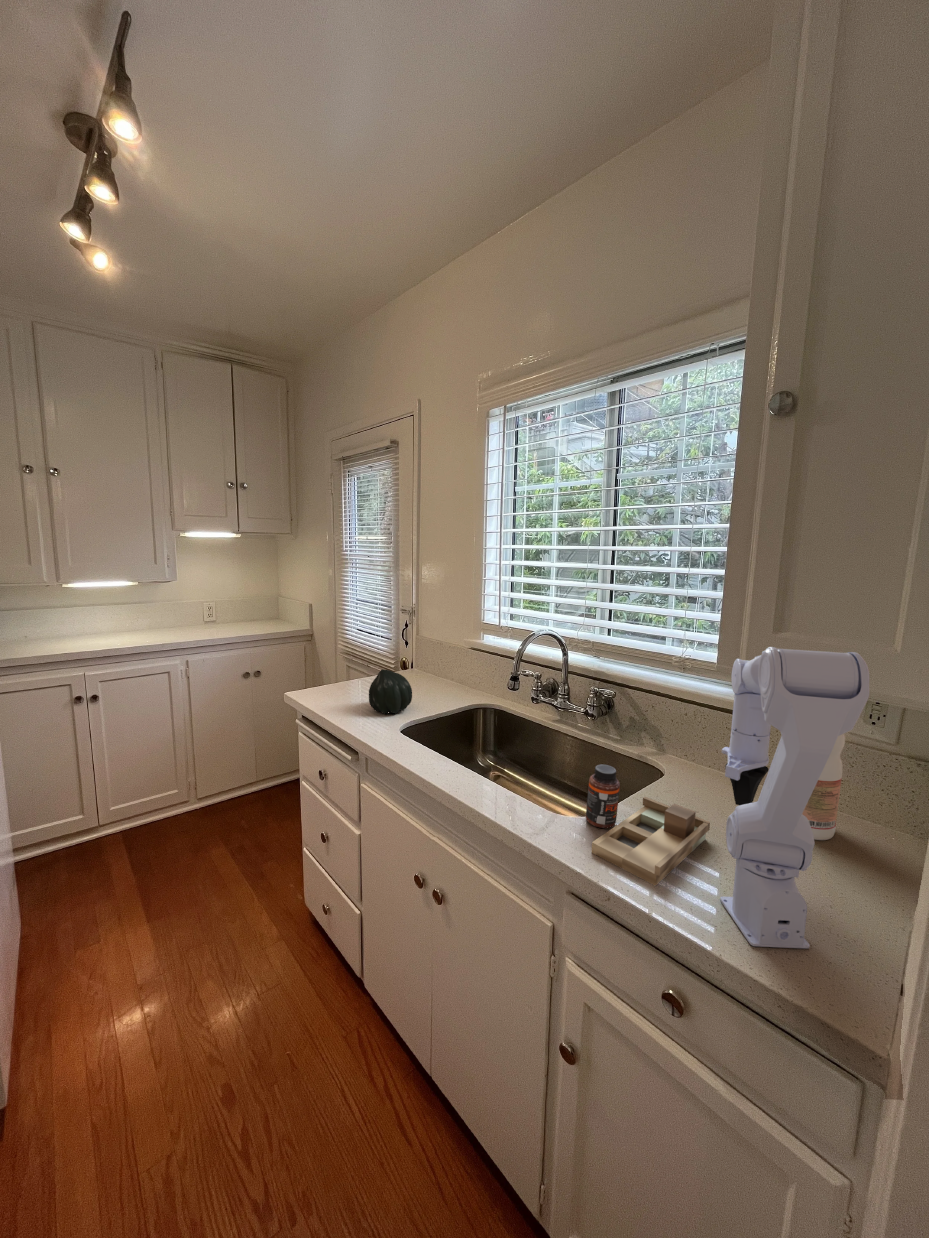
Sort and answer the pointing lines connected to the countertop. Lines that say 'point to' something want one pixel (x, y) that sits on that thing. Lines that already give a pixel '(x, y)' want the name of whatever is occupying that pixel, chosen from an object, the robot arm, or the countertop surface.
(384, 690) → the squash
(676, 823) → the walnut block
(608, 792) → the supplement bottle
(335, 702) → the countertop surface
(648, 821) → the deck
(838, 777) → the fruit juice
